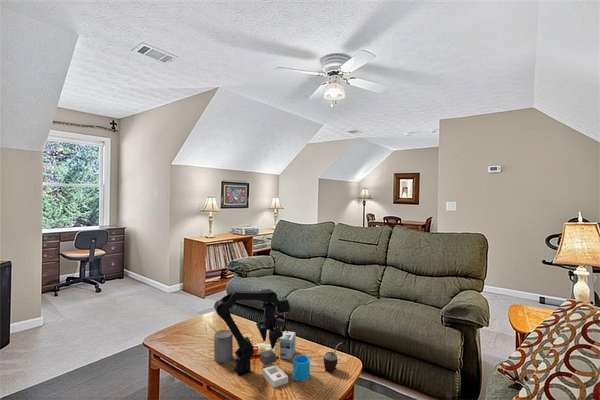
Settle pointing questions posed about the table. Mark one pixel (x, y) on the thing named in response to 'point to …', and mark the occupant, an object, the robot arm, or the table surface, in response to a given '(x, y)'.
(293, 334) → the light bulb box
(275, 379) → the socket
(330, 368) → the mate gourd
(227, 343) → the pillar candle
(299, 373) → the mug
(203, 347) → the table surface
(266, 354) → the plug
